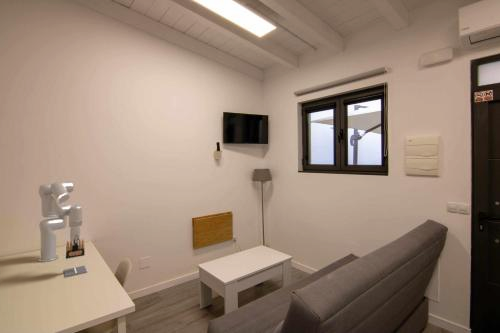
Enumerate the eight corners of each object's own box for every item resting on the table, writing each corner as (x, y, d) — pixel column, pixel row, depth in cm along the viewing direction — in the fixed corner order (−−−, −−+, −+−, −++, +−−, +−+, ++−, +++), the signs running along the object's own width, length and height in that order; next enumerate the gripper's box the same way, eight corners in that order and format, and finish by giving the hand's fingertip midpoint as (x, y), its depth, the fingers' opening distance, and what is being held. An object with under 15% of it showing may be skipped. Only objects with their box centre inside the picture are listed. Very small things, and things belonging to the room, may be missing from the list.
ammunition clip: (84, 254, 178) (84, 237, 178) (84, 255, 177) (84, 238, 177) (65, 258, 171) (65, 240, 171) (65, 258, 170) (66, 241, 170)
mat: (63, 270, 175) (63, 269, 175) (84, 266, 183) (84, 265, 183) (65, 277, 165) (65, 276, 165) (86, 272, 172) (86, 271, 172)
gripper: (68, 222, 178) (67, 248, 178) (69, 226, 166) (69, 254, 166) (80, 221, 183) (80, 246, 183) (83, 225, 170) (83, 252, 170)
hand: (75, 250), depth 174 cm, fingers closed on ammunition clip, 1 cm apart
